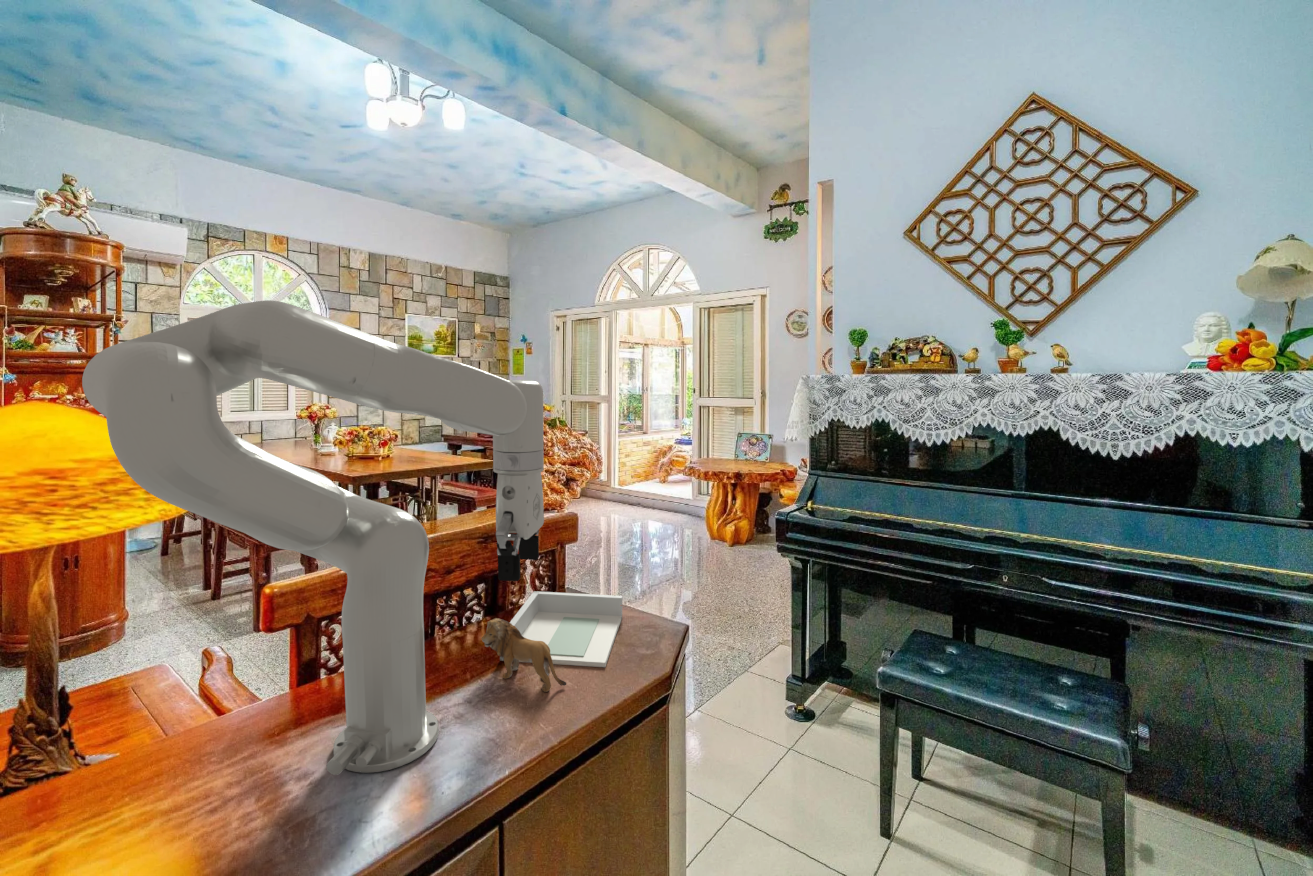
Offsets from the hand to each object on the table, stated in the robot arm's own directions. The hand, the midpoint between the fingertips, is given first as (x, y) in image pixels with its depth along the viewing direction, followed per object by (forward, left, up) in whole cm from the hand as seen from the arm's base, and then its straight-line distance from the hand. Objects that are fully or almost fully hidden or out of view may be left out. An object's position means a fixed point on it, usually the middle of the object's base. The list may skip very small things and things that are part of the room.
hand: (519, 569), depth 93 cm
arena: (+15, -4, -18) cm, 24 cm away
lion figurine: (0, 0, -18) cm, 18 cm away
